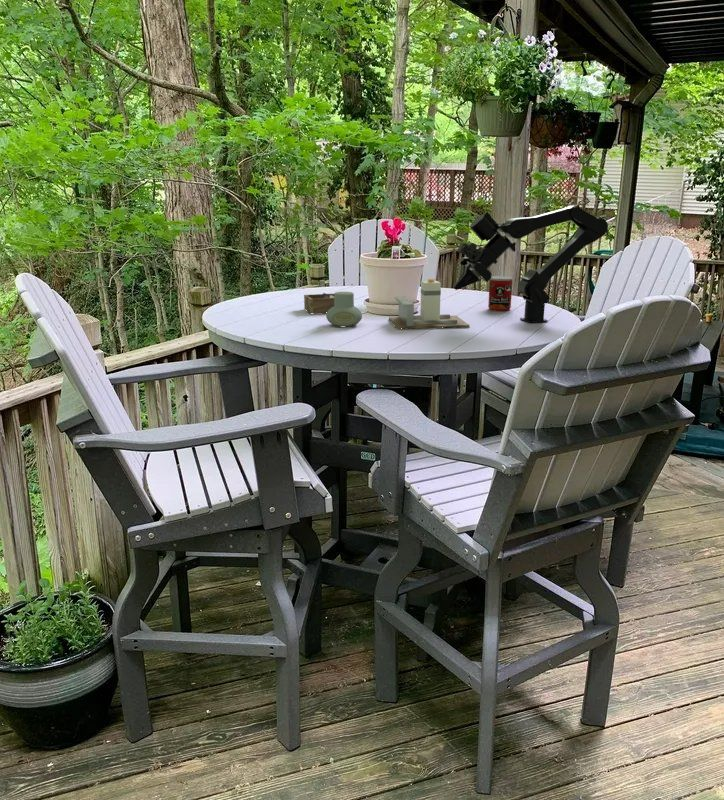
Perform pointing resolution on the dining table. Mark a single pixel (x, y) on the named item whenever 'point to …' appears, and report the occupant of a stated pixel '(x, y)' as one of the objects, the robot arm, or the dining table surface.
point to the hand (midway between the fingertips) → (454, 288)
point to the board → (430, 322)
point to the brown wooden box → (318, 303)
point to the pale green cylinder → (430, 300)
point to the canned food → (500, 293)
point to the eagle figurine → (325, 296)
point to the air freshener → (344, 310)
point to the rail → (406, 311)
